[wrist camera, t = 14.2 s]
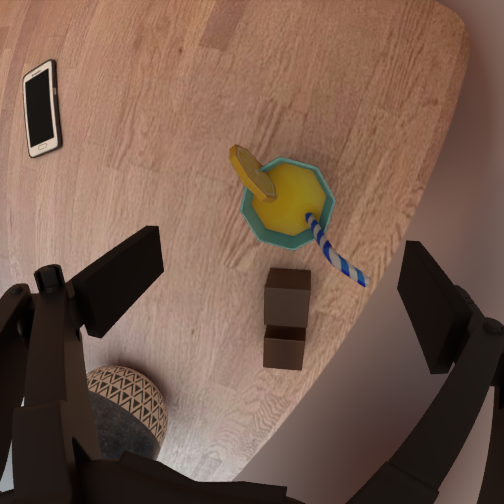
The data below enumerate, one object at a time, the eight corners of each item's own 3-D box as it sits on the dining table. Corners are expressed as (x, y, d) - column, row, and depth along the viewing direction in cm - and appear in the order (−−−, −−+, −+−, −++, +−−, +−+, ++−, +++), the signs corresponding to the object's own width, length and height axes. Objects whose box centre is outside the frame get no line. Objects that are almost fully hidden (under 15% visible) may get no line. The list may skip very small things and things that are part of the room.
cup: (368, 201, 33) (406, 250, 19) (325, 250, 36) (333, 324, 22) (269, 123, 32) (241, 117, 18) (230, 178, 35) (178, 211, 21)
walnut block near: (310, 270, 37) (310, 290, 33) (307, 305, 39) (306, 327, 35) (270, 267, 38) (264, 287, 34) (269, 302, 40) (263, 324, 35)
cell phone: (33, 158, 38) (29, 159, 37) (26, 76, 33) (22, 76, 32) (63, 147, 37) (59, 147, 36) (56, 57, 31) (51, 57, 30)
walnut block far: (306, 317, 40) (305, 341, 35) (303, 346, 42) (301, 370, 37) (269, 315, 41) (263, 337, 36) (268, 343, 43) (263, 367, 38)
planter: (101, 324, 48) (28, 407, 28) (199, 381, 48) (152, 486, 29) (92, 381, 56) (41, 450, 37) (170, 427, 56) (133, 506, 37)
